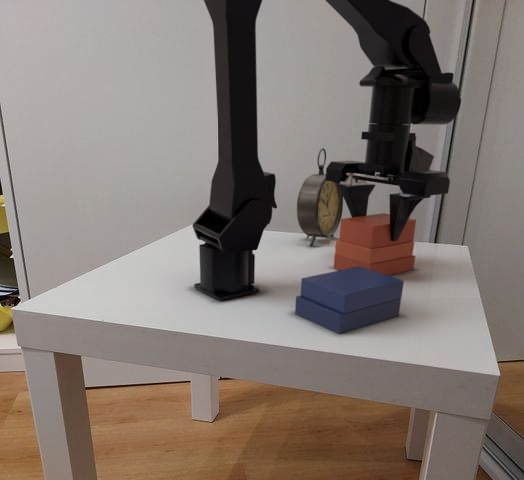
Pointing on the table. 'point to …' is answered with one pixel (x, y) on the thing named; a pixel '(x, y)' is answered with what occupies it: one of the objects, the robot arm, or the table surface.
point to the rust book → (373, 231)
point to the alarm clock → (319, 205)
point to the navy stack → (349, 298)
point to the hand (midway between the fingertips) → (376, 236)
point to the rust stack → (375, 257)
